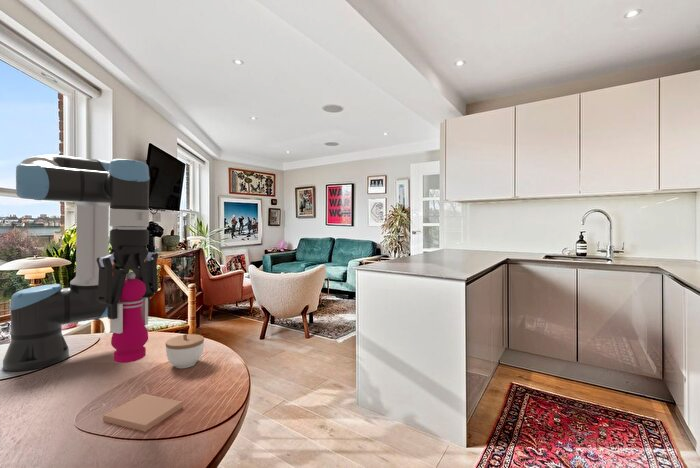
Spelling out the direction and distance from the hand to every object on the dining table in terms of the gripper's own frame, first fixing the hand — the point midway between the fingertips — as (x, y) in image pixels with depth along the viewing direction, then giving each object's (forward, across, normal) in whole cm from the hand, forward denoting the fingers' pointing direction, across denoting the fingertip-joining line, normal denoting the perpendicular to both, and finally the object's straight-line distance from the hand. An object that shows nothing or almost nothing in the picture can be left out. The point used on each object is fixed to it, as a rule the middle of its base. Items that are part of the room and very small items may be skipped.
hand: (129, 327), depth 78 cm
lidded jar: (+20, +25, +7) cm, 33 cm away
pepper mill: (+7, 0, 0) cm, 7 cm away
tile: (+19, 0, +1) cm, 19 cm away
